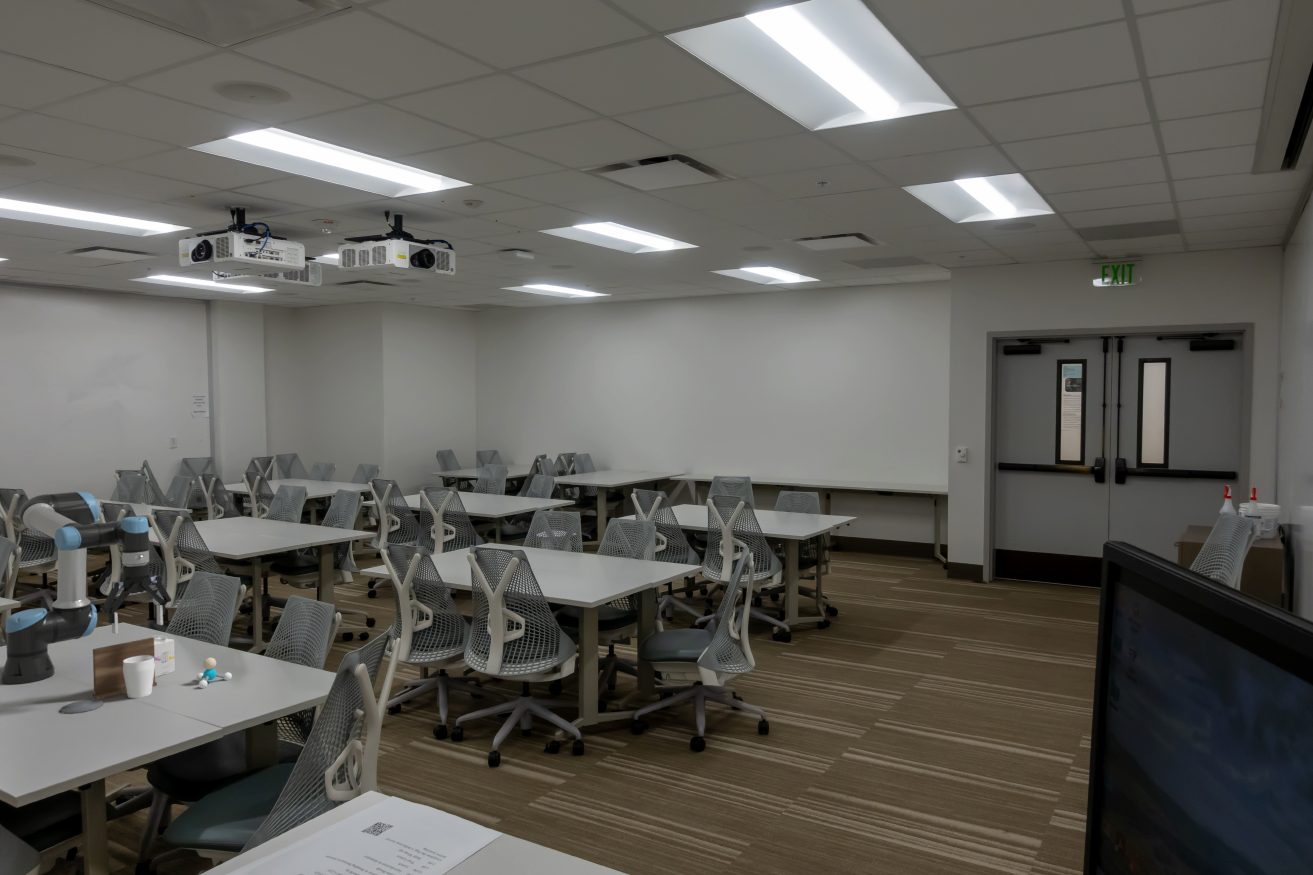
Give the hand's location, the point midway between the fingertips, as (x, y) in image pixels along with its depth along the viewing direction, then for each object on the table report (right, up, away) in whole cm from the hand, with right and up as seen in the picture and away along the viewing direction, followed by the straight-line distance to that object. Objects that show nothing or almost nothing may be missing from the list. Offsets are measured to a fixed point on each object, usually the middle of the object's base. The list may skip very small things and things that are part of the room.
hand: (138, 628), depth 283 cm
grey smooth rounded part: (-11, -23, -11) cm, 27 cm away
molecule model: (+17, -22, +15) cm, 31 cm away
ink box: (-8, -22, +25) cm, 34 cm away
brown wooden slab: (-7, -22, +5) cm, 24 cm away
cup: (0, -22, +1) cm, 22 cm away
